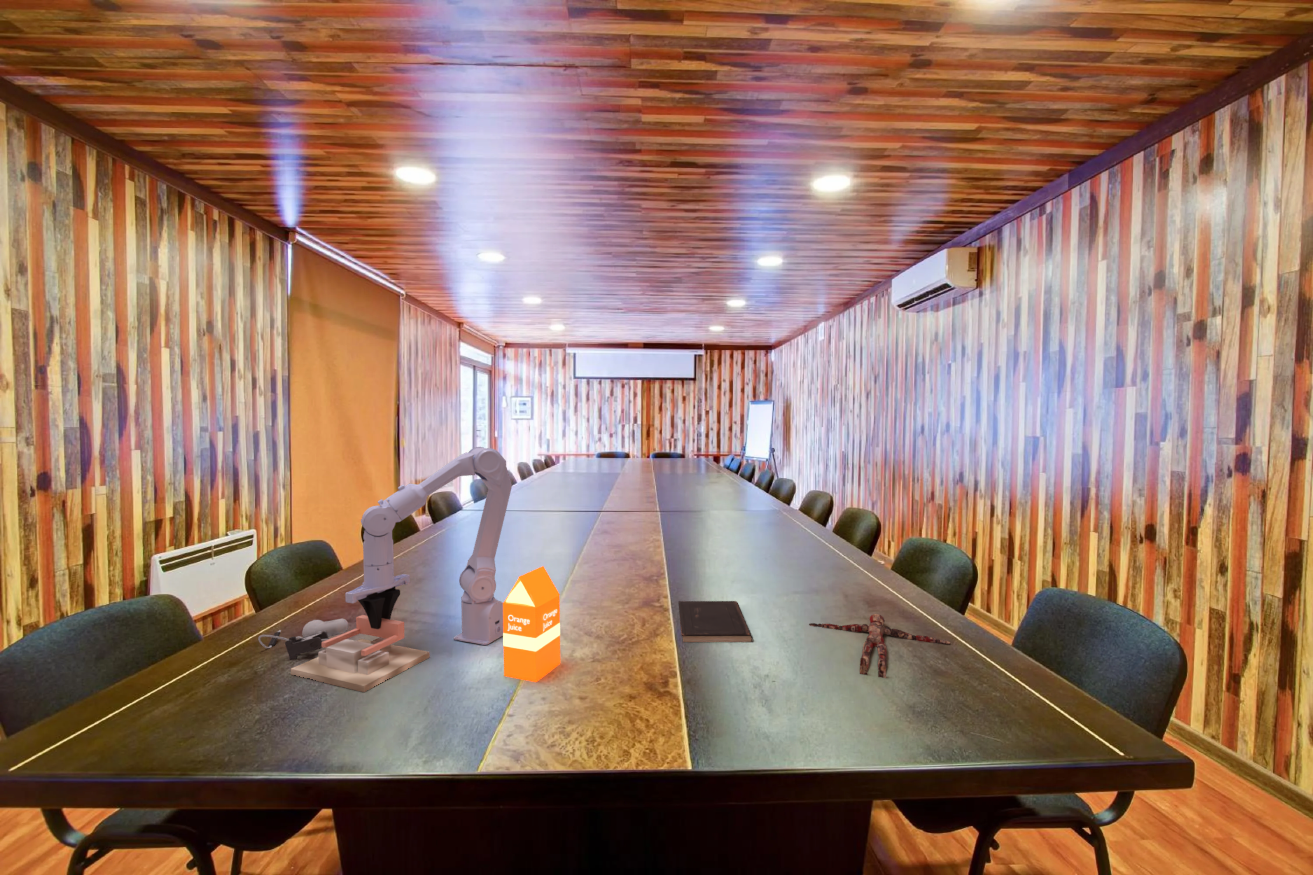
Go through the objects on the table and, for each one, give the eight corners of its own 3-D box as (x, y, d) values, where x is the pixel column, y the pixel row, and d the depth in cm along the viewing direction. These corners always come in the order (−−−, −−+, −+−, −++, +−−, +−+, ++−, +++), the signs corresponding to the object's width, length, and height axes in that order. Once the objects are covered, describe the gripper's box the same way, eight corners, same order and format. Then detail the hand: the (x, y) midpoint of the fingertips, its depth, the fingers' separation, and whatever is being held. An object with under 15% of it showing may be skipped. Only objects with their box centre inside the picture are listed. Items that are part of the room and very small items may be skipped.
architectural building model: (361, 643, 123) (360, 621, 123) (429, 657, 115) (429, 633, 115) (290, 674, 108) (290, 648, 108) (364, 692, 101) (363, 664, 100)
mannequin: (772, 640, 125) (772, 622, 125) (847, 613, 142) (847, 596, 141) (878, 685, 103) (878, 663, 103) (951, 647, 120) (951, 627, 120)
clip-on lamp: (247, 670, 117) (320, 656, 114) (238, 643, 116) (311, 628, 113) (290, 643, 128) (357, 630, 126) (282, 618, 128) (349, 604, 125)
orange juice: (503, 675, 107) (501, 575, 106) (529, 657, 115) (528, 564, 114) (537, 682, 104) (535, 578, 103) (561, 663, 112) (560, 567, 111)
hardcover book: (681, 644, 122) (681, 634, 122) (678, 609, 145) (678, 601, 145) (752, 644, 122) (752, 634, 122) (738, 609, 145) (738, 600, 145)
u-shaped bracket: (362, 630, 119) (362, 614, 119) (404, 637, 114) (404, 621, 114) (321, 647, 110) (321, 630, 110) (364, 656, 105) (364, 638, 105)
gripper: (392, 553, 124) (393, 612, 124) (334, 569, 110) (335, 635, 110) (416, 556, 121) (417, 616, 121) (359, 573, 107) (360, 640, 108)
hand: (380, 626), depth 116 cm, fingers closed on u-shaped bracket, 2 cm apart
